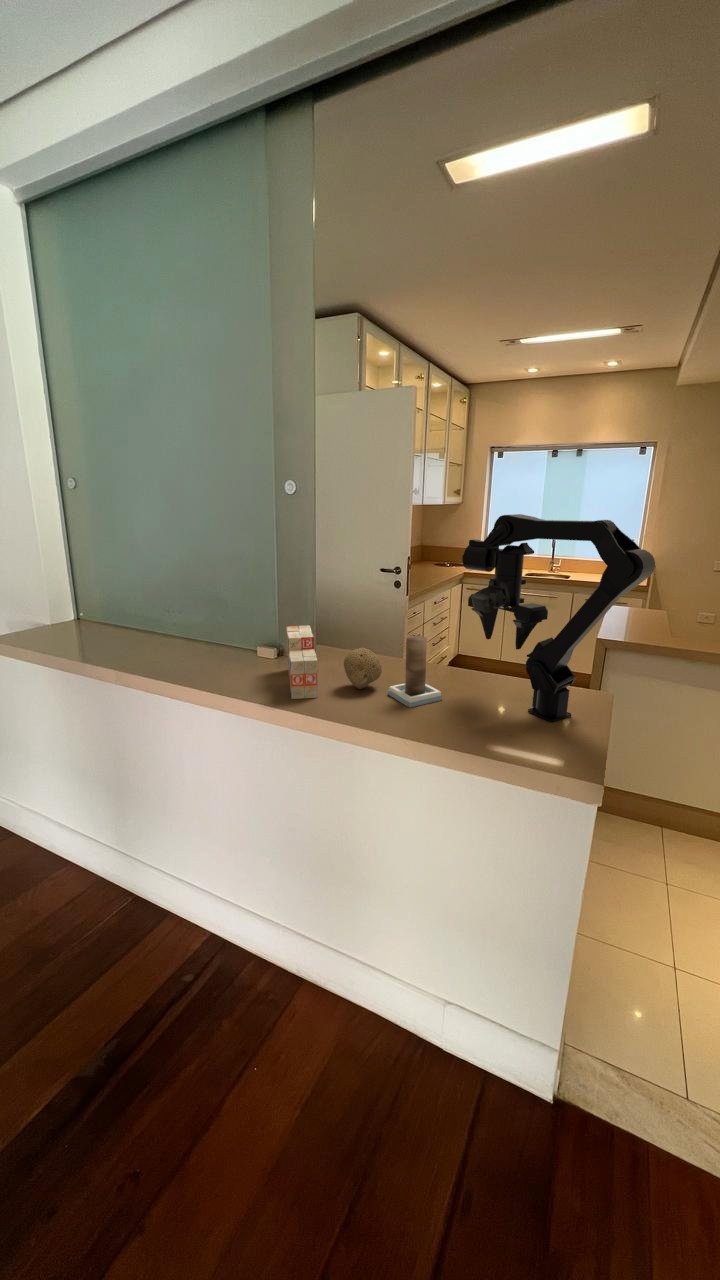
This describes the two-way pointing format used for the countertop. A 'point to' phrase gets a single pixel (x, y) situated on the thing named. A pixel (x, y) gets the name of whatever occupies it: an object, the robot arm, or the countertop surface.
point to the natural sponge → (362, 667)
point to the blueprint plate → (417, 700)
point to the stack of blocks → (302, 662)
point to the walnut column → (415, 665)
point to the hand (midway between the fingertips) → (502, 644)
